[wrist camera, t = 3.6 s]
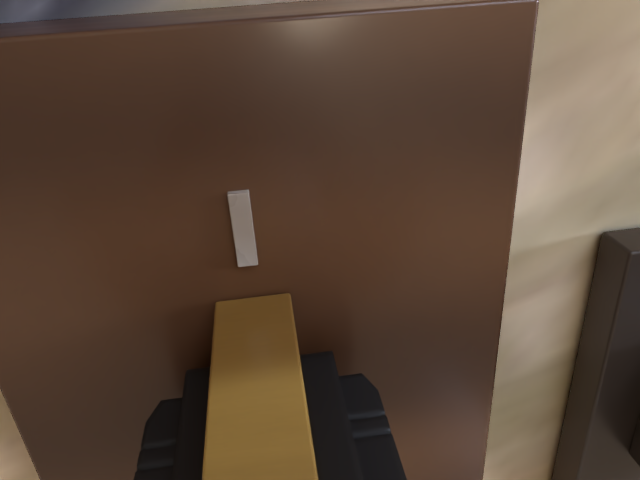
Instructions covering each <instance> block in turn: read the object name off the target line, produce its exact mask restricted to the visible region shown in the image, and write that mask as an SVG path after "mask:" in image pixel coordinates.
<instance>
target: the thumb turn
mask: <svg viewBox="0 0 640 480" xmlns="http://www.w3.org/2000/svg"><path fill="white" fill-rule="evenodd" d="M202 480H318V473H317V467H316V460H315V453H314V447H313V440H312V433H311V427H310V420H309V413H308V407H307V400H306V394H305V387H304V380H303V374H302V367H301V360H300V354H299V347H298V341H297V334H296V327H295V321H294V314H293V307H292V301H291V295H290V294H289V293H285V294H277V295H268V296H260V297H252V298H244V299H235V300H227V301H219V302H216V303H215V312H214V325H213V338H212V351H211V364H210V377H209V390H208V403H207V416H206V429H205V442H204V456H203V469H202Z"/></svg>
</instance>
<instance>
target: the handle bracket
mask: <svg viewBox="0 0 640 480" xmlns="http://www.w3.org/2000/svg"><path fill="white" fill-rule="evenodd" d="M552 480H640V228H635V229H626V230H618V231H609V232H604V233H603V234H602V237H601V242H600V247H599V252H598V257H597V262H596V267H595V272H594V276H593V281H592V286H591V291H590V296H589V301H588V306H587V311H586V316H585V320H584V325H583V330H582V335H581V340H580V345H579V350H578V355H577V360H576V364H575V369H574V374H573V379H572V384H571V389H570V394H569V399H568V403H567V408H566V413H565V418H564V423H563V428H562V433H561V438H560V443H559V447H558V452H557V457H556V462H555V467H554V472H553V477H552Z"/></svg>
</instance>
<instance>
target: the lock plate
mask: <svg viewBox="0 0 640 480" xmlns="http://www.w3.org/2000/svg"><path fill="white" fill-rule="evenodd" d="M538 5H539V1H538V0H315V1H302V2H288V3H275V4H261V5H247V6H234V7H220V8H207V9H193V10H180V11H166V12H152V13H139V14H125V15H112V16H98V17H84V18H71V19H57V20H44V21H30V22H16V23H3V24H0V389H1V391H2V393H3V396H4V398H5V400H6V402H7V405H8V407H9V409H10V412H11V414H12V416H13V418H14V421H15V423H16V425H17V428H18V430H19V432H20V434H21V437H22V439H23V441H24V443H25V446H26V448H27V450H28V453H29V455H30V457H31V459H32V462H33V464H34V466H35V469H36V471H37V473H38V475H39V478H40V480H134V476H135V472H136V471H137V462H138V457H139V452H140V451H141V442H142V438H143V433H144V428H145V423H146V421H147V420H148V418H149V417H150V415H151V414H152V413H153V411H154V410H155V408H156V407H157V405H158V404H159V402H160V401H161V400H167V399H175V398H182V396H183V389H184V381H185V374H186V371H187V370H189V369H196V368H204V367H210V364H211V351H212V338H213V325H214V312H215V303H216V302H219V301H227V300H235V299H244V298H252V297H260V296H268V295H277V294H285V293H289V294H290V295H291V301H292V307H293V314H294V321H295V327H296V334H297V341H298V347H299V354H300V355H303V354H310V353H318V352H326V351H333V354H334V358H335V363H336V367H337V371H338V375H339V376H344V375H351V374H359V373H362V374H363V375H364V376H365V377H366V378H367V379H368V380H369V381H370V382H371V383H372V384H373V385H374V386H375V387H376V388H377V389H378V391H379V394H380V397H381V401H382V404H383V407H384V410H385V415H386V416H387V419H388V422H389V425H390V429H391V434H392V435H393V438H394V441H395V444H396V447H397V450H398V453H399V456H400V460H401V463H402V466H403V469H404V472H405V475H406V478H407V480H483V473H484V464H485V456H486V447H487V439H488V430H489V422H490V413H491V405H492V396H493V388H494V379H495V371H496V362H497V354H498V345H499V337H500V328H501V320H502V311H503V303H504V294H505V286H506V277H507V269H508V260H509V252H510V243H511V235H512V226H513V218H514V209H515V201H516V192H517V184H518V175H519V167H520V158H521V150H522V141H523V133H524V124H525V116H526V107H527V99H528V90H529V82H530V73H531V65H532V56H533V48H534V39H535V31H536V22H537V14H538Z"/></svg>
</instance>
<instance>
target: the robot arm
mask: <svg viewBox="0 0 640 480" xmlns="http://www.w3.org/2000/svg"><path fill="white" fill-rule="evenodd" d="M300 360H301V367H302V374H303V380H304V387H305V394H306V400H307V407H308V413H309V420H310V427H311V433H312V440H313V447H314V453H315V460H316V467H317V473H318V480H407V478H406V475H405V472H404V469H403V466H402V463H401V460H400V456H399V453H398V450H397V447H396V444H395V441H394V438H393V435H392V434H391V429H390V425H389V422H388V419H387V416H386V415H385V410H384V407H383V404H382V401H381V397H380V394H379V391H378V389H377V388H376V387H375V386H374V385H373V384H372V383H371V382H370V381H369V380H368V379H367V378H366V377H365V376H364V375H363V374H362V373H359V374H351V375H344V376H339V375H338V371H337V367H336V363H335V358H334V354H333V351H326V352H318V353H310V354H303V355H300ZM209 377H210V367H204V368H196V369H189V370H187V371H186V374H185V381H184V389H183V396H182V398H175V399H167V400H161V401H160V402H159V404H158V405H157V407H156V408H155V410H154V411H153V413H152V414H151V415H150V417H149V418H148V420H147V421H146V423H145V428H144V433H143V438H142V442H141V451H140V452H139V457H138V462H137V471H136V472H135V476H134V480H202V469H203V456H204V442H205V429H206V416H207V403H208V390H209Z"/></svg>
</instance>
